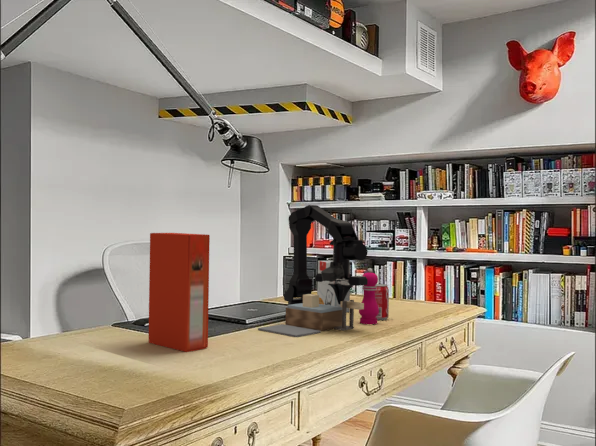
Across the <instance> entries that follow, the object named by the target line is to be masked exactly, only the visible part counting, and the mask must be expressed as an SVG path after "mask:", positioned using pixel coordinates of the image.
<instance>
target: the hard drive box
mask: <svg viewBox="0 0 596 446" xmlns="http://www.w3.org/2000/svg"><path fill="white" fill-rule="evenodd" d="M331 262H333V260H318V261H317V273H321V271H323V270H324V269H326V268H328V267H330V263H331ZM351 267H352V265H350V268H349V274H351ZM328 284H329V281H322V282H317V286H316V289H317V292H316V295H319V304H324V305H331V306H338V307H340V305H341V304H338V301H337V298H336V295H335V292H334V289H333V288H332V287H331V286H330V285H328ZM350 300H351V289H350V290H349V291H348V293H347V295H346V297H345V299H344V301H350ZM346 313H350V308H346Z"/></svg>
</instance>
